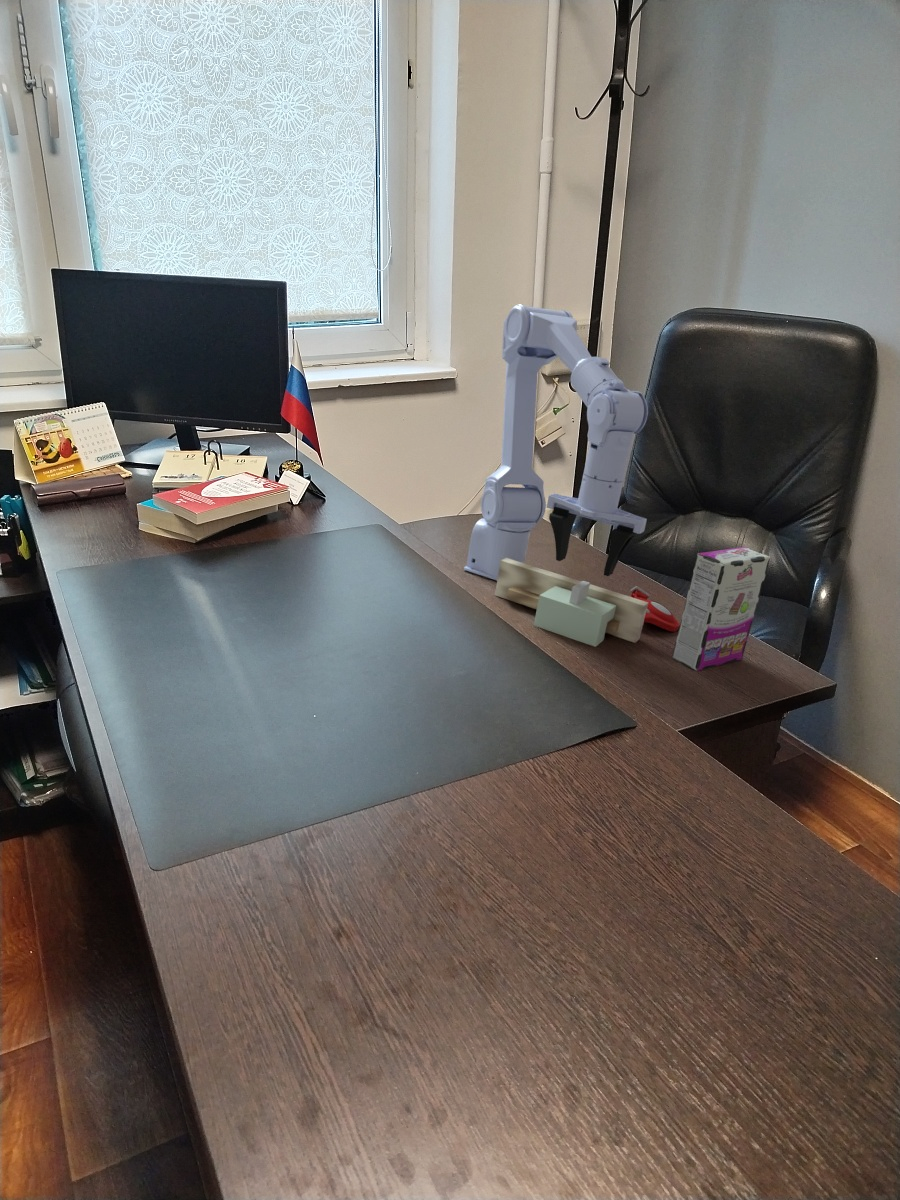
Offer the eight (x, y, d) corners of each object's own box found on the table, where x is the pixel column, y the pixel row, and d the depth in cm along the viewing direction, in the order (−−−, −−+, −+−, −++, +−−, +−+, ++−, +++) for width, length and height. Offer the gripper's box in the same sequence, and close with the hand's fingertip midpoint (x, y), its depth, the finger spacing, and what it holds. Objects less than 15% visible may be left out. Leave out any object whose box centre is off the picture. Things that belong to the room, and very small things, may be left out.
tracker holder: (694, 623, 133) (660, 619, 126) (678, 645, 135) (644, 642, 128) (642, 581, 141) (608, 574, 134) (628, 602, 142) (594, 596, 135)
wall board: (488, 598, 133) (494, 562, 131) (500, 592, 136) (506, 557, 134) (630, 646, 123) (639, 609, 121) (639, 639, 126) (648, 602, 124)
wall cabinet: (533, 625, 125) (542, 579, 123) (549, 615, 130) (558, 570, 128) (595, 647, 121) (605, 599, 118) (609, 635, 126) (620, 589, 123)
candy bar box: (715, 646, 128) (744, 545, 122) (742, 660, 124) (773, 556, 118) (668, 657, 121) (696, 551, 115) (695, 672, 118) (726, 563, 112)
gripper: (545, 468, 118) (528, 558, 123) (643, 493, 112) (620, 587, 117) (565, 462, 124) (548, 548, 129) (659, 486, 117) (637, 576, 122)
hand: (584, 566), depth 123 cm, fingers open, 7 cm apart
